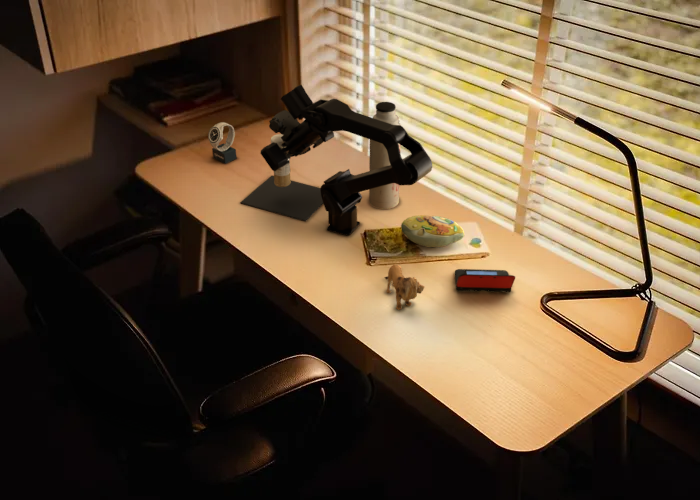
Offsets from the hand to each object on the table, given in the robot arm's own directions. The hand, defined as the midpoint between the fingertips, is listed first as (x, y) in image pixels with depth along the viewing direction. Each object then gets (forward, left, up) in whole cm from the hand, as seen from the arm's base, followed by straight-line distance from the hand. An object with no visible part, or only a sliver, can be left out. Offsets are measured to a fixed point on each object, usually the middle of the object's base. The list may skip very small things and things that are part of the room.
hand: (277, 159), depth 206 cm
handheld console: (-61, +12, -13) cm, 64 cm away
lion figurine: (-46, +24, -13) cm, 54 cm away
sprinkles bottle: (-1, 0, -7) cm, 7 cm away
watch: (+27, -13, -13) cm, 32 cm away
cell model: (-43, -1, -13) cm, 45 cm away
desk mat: (-1, -2, -12) cm, 13 cm away
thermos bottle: (-25, -12, -13) cm, 31 cm away
